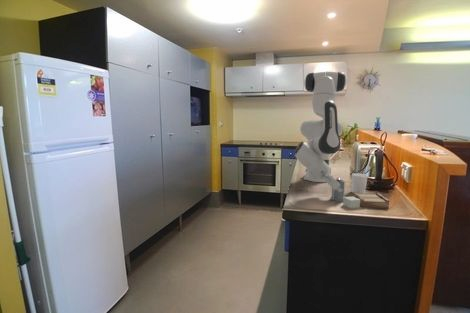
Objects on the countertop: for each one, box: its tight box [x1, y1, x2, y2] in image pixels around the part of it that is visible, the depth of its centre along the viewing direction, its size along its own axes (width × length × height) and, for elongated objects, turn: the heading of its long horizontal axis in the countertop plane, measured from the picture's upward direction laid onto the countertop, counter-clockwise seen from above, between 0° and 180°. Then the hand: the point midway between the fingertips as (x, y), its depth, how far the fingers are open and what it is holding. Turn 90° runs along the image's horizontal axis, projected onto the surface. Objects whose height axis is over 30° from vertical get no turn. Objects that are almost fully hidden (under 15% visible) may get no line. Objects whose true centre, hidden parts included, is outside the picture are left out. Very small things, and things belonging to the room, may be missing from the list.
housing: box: [330, 177, 345, 203], centre depth 132 cm, size 5×5×11 cm
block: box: [342, 196, 361, 209], centre depth 123 cm, size 5×5×4 cm
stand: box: [352, 192, 390, 209], centre depth 127 cm, size 12×12×4 cm
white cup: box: [350, 172, 368, 194], centre depth 145 cm, size 8×8×10 cm
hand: (339, 189), depth 132 cm, fingers closed on housing, 4 cm apart
